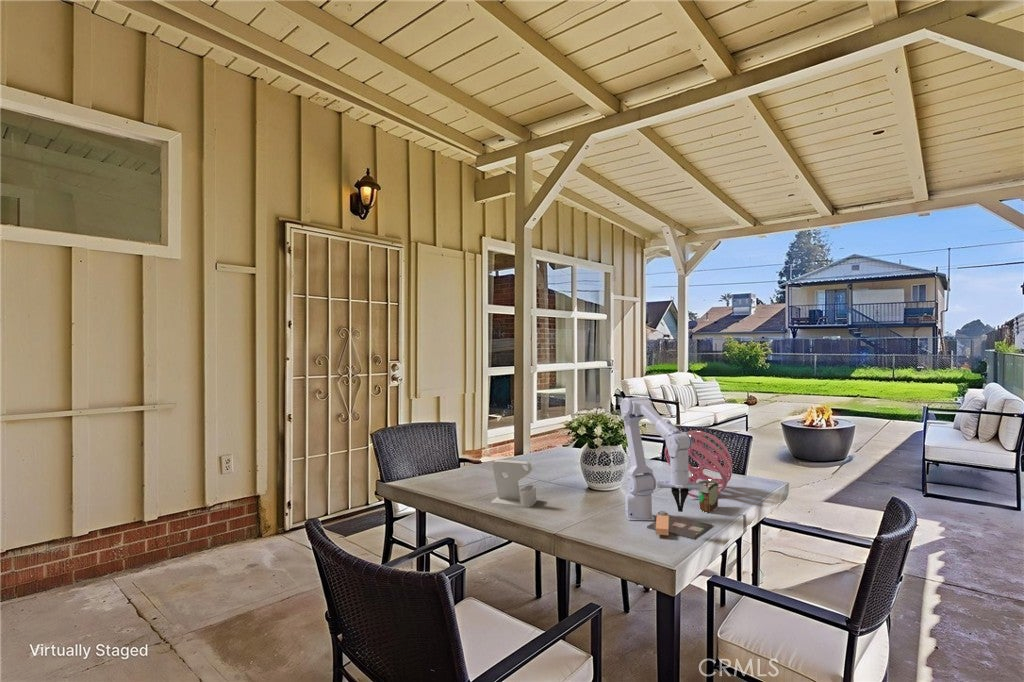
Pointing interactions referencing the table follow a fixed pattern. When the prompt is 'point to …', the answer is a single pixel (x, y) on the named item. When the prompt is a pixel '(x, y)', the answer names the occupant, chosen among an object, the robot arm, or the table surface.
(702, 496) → the food container
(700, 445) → the spiral basket
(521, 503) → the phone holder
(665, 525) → the swing bar
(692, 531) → the label plate
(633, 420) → the robot arm
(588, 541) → the table surface
